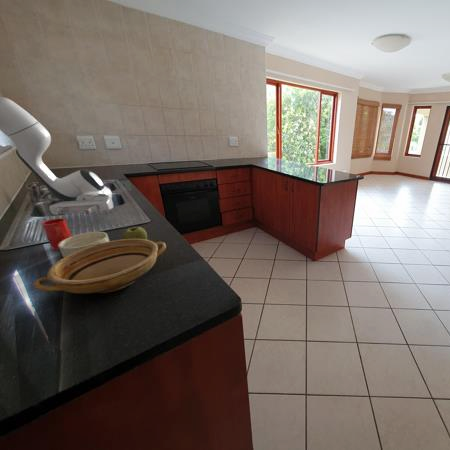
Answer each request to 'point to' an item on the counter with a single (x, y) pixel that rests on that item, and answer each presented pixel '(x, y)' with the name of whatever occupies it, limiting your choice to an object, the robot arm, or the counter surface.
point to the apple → (134, 233)
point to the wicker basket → (102, 267)
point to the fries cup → (56, 231)
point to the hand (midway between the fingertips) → (73, 212)
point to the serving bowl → (81, 242)
